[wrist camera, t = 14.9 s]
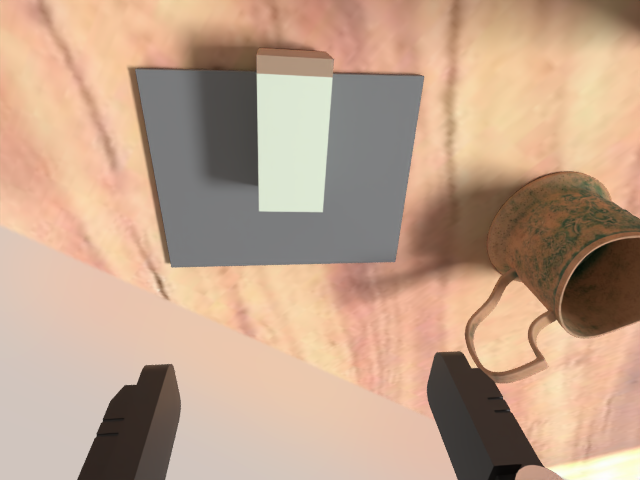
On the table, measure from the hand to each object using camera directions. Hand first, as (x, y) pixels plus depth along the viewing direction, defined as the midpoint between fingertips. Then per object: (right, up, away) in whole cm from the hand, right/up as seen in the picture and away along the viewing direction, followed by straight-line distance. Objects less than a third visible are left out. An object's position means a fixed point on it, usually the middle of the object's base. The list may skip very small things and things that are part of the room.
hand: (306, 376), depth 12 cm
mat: (-2, +9, +20) cm, 22 cm away
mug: (+19, +4, +26) cm, 33 cm away
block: (-2, +7, +18) cm, 19 cm away
